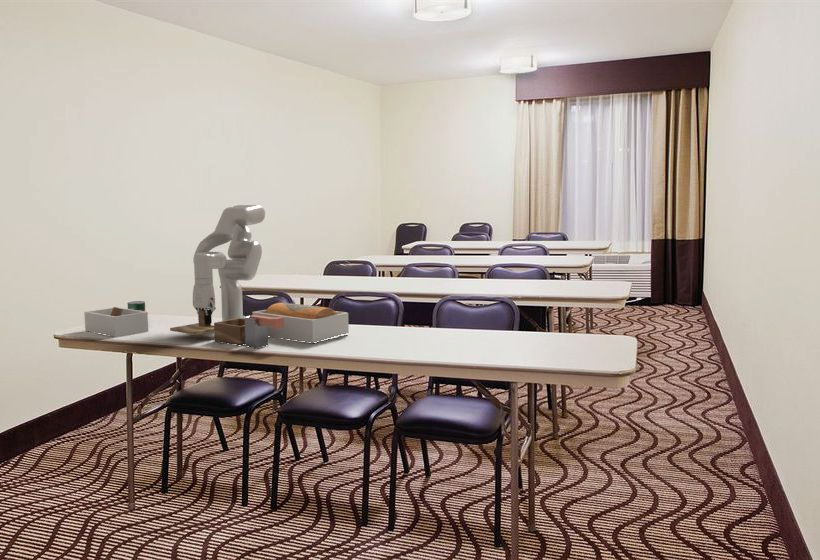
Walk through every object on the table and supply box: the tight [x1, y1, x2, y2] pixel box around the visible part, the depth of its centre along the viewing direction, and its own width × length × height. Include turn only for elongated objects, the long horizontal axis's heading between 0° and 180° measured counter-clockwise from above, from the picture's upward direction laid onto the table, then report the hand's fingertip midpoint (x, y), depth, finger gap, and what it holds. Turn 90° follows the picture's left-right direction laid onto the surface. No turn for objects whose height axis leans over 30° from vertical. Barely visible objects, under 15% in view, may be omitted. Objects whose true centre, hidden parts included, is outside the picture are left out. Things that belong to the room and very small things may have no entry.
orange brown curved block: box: [265, 302, 337, 320], centre depth 297 cm, size 30×16×14 cm, turn 54°
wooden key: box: [248, 315, 284, 329], centre depth 272 cm, size 4×16×4 cm, turn 55°
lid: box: [169, 309, 214, 336], centre depth 292 cm, size 15×17×8 cm
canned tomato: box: [126, 300, 146, 312], centre depth 323 cm, size 8×8×11 cm
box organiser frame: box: [251, 309, 350, 343], centre depth 299 cm, size 23×36×10 cm, turn 55°
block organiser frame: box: [83, 306, 149, 338], centre depth 307 cm, size 16×24×9 cm, turn 55°
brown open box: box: [213, 318, 246, 346], centre depth 286 cm, size 14×16×8 cm
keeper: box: [245, 316, 269, 349], centre depth 275 cm, size 7×6×12 cm
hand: (205, 323), depth 296 cm, fingers closed on lid, 3 cm apart
